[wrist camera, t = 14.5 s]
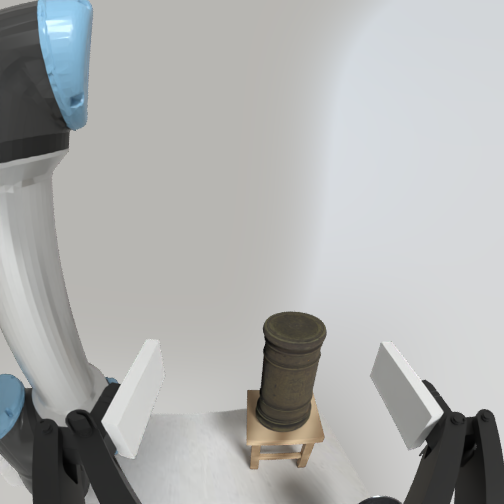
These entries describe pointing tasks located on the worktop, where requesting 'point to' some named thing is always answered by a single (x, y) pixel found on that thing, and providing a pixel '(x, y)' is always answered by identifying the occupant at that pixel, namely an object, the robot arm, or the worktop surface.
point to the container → (289, 370)
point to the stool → (281, 435)
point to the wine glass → (380, 500)
